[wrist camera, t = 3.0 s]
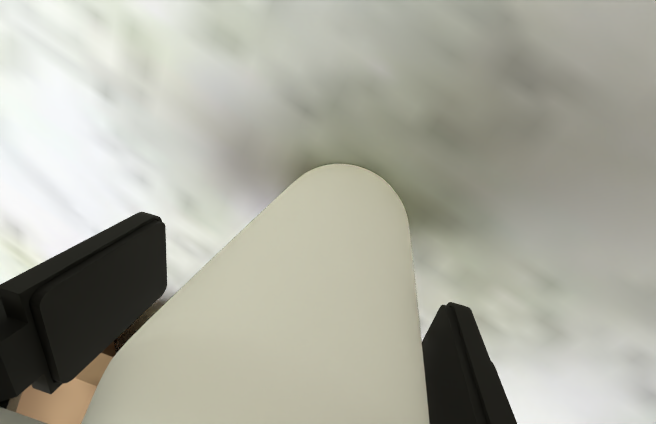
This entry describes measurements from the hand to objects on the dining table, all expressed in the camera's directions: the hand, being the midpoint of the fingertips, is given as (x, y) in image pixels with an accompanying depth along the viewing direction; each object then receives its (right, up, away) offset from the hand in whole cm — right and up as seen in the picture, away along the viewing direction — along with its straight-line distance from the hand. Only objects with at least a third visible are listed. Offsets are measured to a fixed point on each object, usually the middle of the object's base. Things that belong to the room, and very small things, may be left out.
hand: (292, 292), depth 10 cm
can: (+2, +2, +5) cm, 6 cm away
